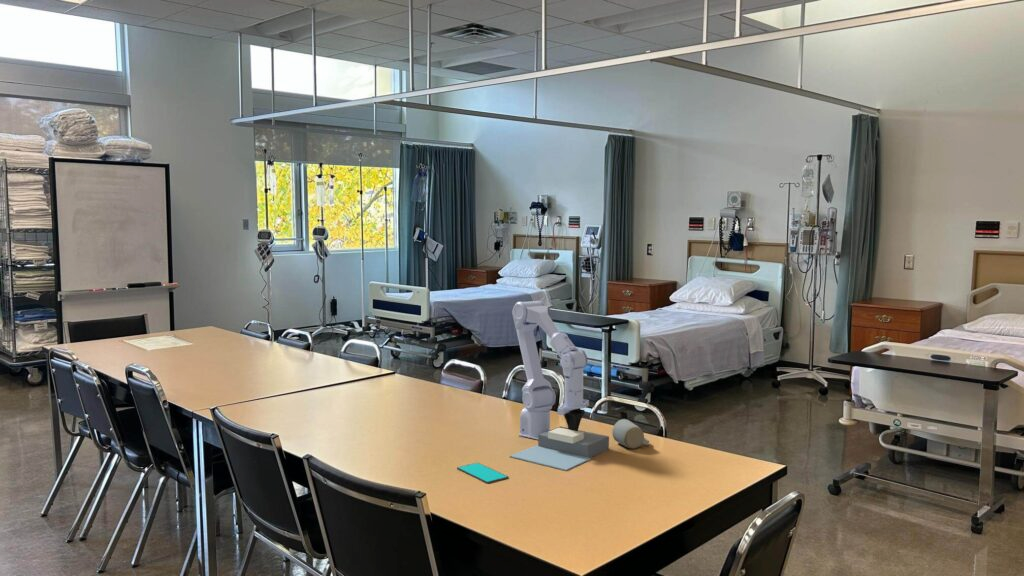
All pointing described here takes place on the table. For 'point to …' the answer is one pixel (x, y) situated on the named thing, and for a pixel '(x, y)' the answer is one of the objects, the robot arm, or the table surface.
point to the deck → (577, 444)
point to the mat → (550, 458)
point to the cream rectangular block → (566, 435)
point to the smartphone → (482, 473)
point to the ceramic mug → (628, 434)
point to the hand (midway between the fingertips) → (573, 433)
